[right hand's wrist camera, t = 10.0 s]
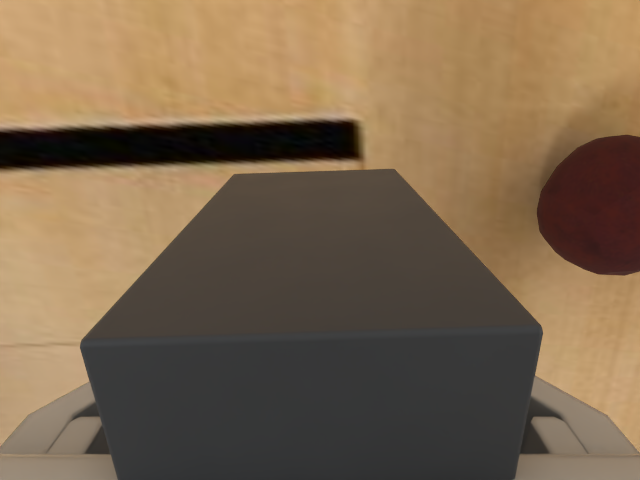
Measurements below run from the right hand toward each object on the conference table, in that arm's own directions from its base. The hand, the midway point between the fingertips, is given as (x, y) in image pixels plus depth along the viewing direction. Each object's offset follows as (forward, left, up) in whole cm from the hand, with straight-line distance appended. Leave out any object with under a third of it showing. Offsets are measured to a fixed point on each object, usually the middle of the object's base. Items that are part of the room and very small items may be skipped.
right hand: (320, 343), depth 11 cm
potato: (+8, +14, -16) cm, 23 cm away
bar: (+7, -4, -3) cm, 8 cm away
